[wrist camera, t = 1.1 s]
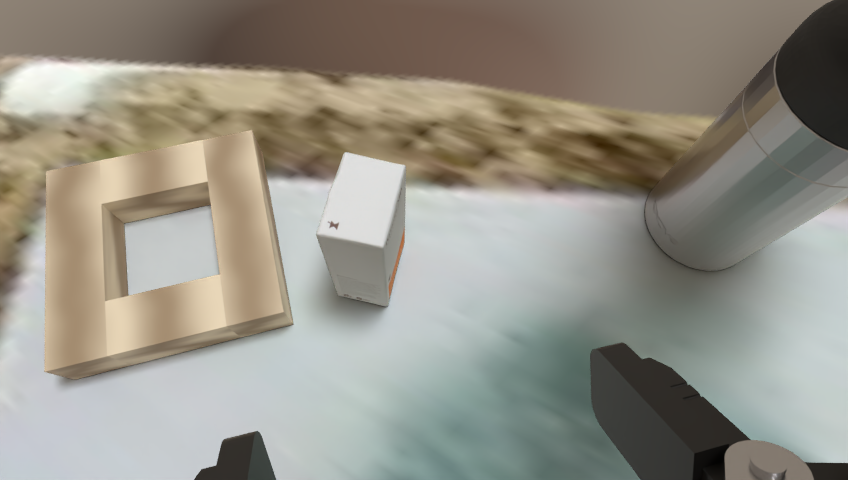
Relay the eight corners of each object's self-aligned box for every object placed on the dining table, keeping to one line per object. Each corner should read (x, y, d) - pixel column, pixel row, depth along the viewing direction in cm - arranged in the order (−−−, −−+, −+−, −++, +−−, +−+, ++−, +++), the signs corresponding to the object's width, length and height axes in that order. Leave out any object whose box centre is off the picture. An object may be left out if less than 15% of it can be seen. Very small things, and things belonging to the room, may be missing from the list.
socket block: (262, 153, 46) (251, 130, 43) (293, 324, 40) (283, 311, 37) (72, 192, 44) (46, 171, 41) (75, 379, 38) (44, 371, 35)
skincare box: (389, 308, 41) (383, 251, 30) (337, 296, 41) (312, 235, 30) (407, 239, 43) (407, 163, 32) (357, 228, 43) (341, 149, 32)
